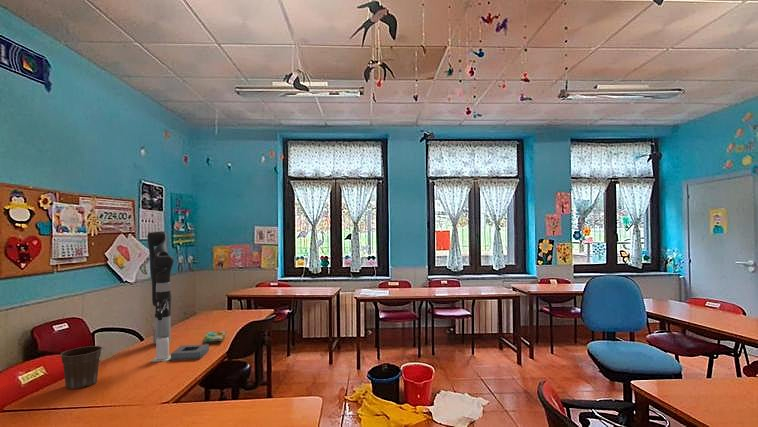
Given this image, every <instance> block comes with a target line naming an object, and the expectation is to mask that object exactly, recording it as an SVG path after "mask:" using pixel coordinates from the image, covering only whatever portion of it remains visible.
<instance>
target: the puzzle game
mask: <svg viewBox="0 0 758 427" xmlns="http://www.w3.org/2000/svg"><path fill="white" fill-rule="evenodd" d="M206 333H207V334H205V335H204V337H203V338H202V340H201V342H202V343H204V345H205V344H209V345H210V344H220V343H222V342H223V340H224V338H225V336H226V334H227V330H221V331H220V330H219V331H209V332H206Z"/></svg>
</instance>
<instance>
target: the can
mask: <svg viewBox="0 0 758 427" xmlns="http://www.w3.org/2000/svg"><path fill="white" fill-rule="evenodd" d="M155 345H156V346H155V347H156V348H155V349H156V350H155V358H156V359H158V360H162V359H167V358H168V357H169V356H170V342H169V338H168V336H160V337H157V340H156V344H155Z"/></svg>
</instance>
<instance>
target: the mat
mask: <svg viewBox="0 0 758 427" xmlns="http://www.w3.org/2000/svg"><path fill="white" fill-rule="evenodd" d="M160 361H161V362H168V361H171V355H169V357H168V358H167V359H162V360H158V359H156V357H154V358H153V359H152V360H151V361H150V363H155V362H156V363H158V362H160Z"/></svg>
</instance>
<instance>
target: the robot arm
mask: <svg viewBox="0 0 758 427" xmlns="http://www.w3.org/2000/svg"><path fill="white" fill-rule="evenodd" d="M167 234H168V233H167V232H165V231H152V232H148V233H147V236H146V237H147V244H148V245H147V246H148V247H147V248H148V253H149V254H148V255H149V269H150V270H149V271H150V277H151V301H152V306H154V307H155V311H154V312H155V313H154V329H153V332H152V333H153V334H152V335H153V336H152V338H153V339H152V340H153V341H152V344H153V345H156V340H157V337H160V336H168V338H169V343H171V319H172V318H171V312H172V311H171V310H172V309H171V308H172V294H171V292H172V291H171V272H172V268H173V265H174V262H175V260H174V257H173V256H172V255H169V250H168V246H169V245H168V243H169V242H168V241H169V240H168V239H169V238H168V235H167Z"/></svg>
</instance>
